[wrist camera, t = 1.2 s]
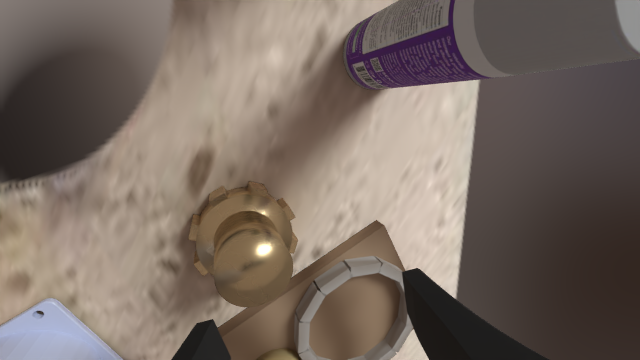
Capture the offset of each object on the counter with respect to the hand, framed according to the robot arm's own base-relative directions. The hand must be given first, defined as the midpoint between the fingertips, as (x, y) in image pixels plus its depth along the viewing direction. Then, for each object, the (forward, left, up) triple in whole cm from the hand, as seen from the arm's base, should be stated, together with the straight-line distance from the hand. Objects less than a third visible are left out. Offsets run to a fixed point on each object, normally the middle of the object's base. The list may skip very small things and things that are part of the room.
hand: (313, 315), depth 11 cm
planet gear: (-2, 0, -11) cm, 11 cm away
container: (+12, +6, -11) cm, 18 cm away
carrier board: (-1, -11, -11) cm, 15 cm away
